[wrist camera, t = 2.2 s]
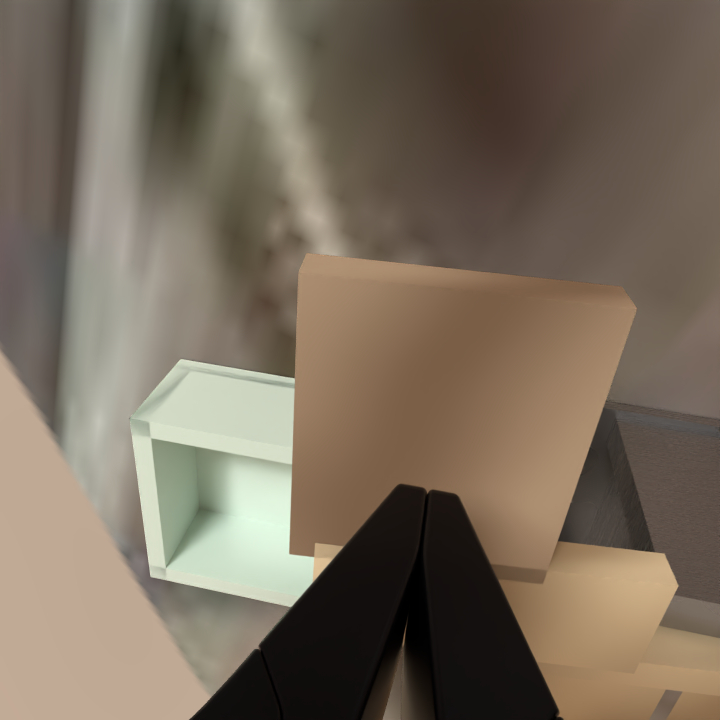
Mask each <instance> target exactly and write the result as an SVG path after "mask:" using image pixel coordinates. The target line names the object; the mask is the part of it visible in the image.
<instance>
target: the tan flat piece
mask: <svg viewBox="0 0 720 720" xmlns="http://www.w3.org/2000/svg"><path fill="white" fill-rule="evenodd" d="M636 311H637V308H636V307H635V305H634V304H633V302H632V301H631V299H630V298H629V296H628V295H627V293H626V292H625V291H624V289H623V288H622V287H620V286H611V285H601V284H592V283H583V282H573V281H564V280H554V279H545V278H536V277H526V276H517V275H507V274H498V273H489V272H479V271H470V270H460V269H451V268H442V267H432V266H423V265H413V264H404V263H394V262H385V261H376V260H366V259H357V258H347V257H338V256H329V255H319V254H310V253H306V256H305V258H304V261H303V263H302V265H301V268H300V270H299V273H298V302H297V332H296V362H295V392H294V421H293V451H292V481H291V511H290V541H289V554H291V555H299V556H308V557H314V568H313V581H314V580H315V579H316V578H317V577H318V576H319V574H320V573H321V572H322V571H323V570H324V569H325V567H326V566H327V565H328V564H329V563H330V562H331V561H332V559H333V558H334V557H335V556H336V555H337V554H338V552H339V551H340V550H341V549H342V548H343V547H344V545H345V544H346V543H347V542H348V541H349V540H350V539H351V537H352V536H353V535H354V534H355V533H356V532H357V530H358V529H359V528H360V527H361V526H362V525H363V524H364V522H365V521H366V520H367V519H368V518H369V517H370V515H371V514H372V513H373V512H374V511H375V510H376V508H377V507H378V506H379V505H380V504H381V503H382V502H383V500H384V499H385V498H386V497H387V496H388V495H389V493H390V492H391V491H392V490H393V489H394V488H395V487H396V486H397V485H398V484H401V483H403V484H408V485H414V486H419V487H423V488H425V489H426V490H427V494H428V492H429V491H430V490H432V489H435V490H440V491H446V492H451V493H455V494H457V495H458V496H459V497H460V499H461V501H462V503H463V505H464V508H465V510H466V512H467V514H468V516H469V518H470V520H471V523H472V525H473V527H474V529H475V531H476V533H477V535H478V538H479V540H480V542H481V544H482V546H483V548H484V550H485V553H486V555H487V557H488V559H489V561H490V563H491V565H492V567H493V570H494V572H495V574H496V576H497V578H498V580H499V582H500V585H501V587H502V589H503V591H504V593H505V595H506V597H507V600H508V602H509V604H510V606H511V608H512V610H513V612H514V615H515V617H516V619H517V621H518V623H519V625H520V627H521V630H522V632H523V634H524V636H525V638H526V640H527V642H528V644H529V647H530V649H531V651H532V653H533V655H534V657H535V659H536V662H537V664H538V666H539V668H540V670H541V672H542V674H543V677H544V679H545V681H546V683H547V685H548V687H549V689H550V692H551V694H552V696H553V698H554V700H555V702H556V704H557V706H558V709H559V711H560V714H559V716H558V717H562V718H563V719H564V720H720V638H717V637H712V636H707V635H702V634H698V633H693V632H688V631H683V630H678V629H673V628H668V627H663V626H659V624H660V622H661V620H662V618H663V616H664V614H665V612H666V610H667V608H668V606H669V604H670V602H671V600H672V598H673V596H674V594H675V592H676V590H677V588H678V583H677V581H676V579H675V577H674V574H673V572H672V570H671V567H670V565H669V563H668V561H667V558H666V556H665V554H663V553H655V552H646V551H638V550H629V549H621V548H612V547H603V546H595V545H586V544H578V543H569V542H561V541H558V538H559V535H560V533H561V530H562V527H563V524H564V521H565V518H566V515H567V512H568V509H569V506H570V503H571V500H572V498H573V495H574V492H575V489H576V486H577V483H578V480H579V477H580V474H581V471H582V468H583V465H584V463H585V460H586V457H587V454H588V451H589V448H590V445H591V442H592V439H593V436H594V433H595V430H596V427H597V425H598V422H599V419H600V416H601V413H602V410H603V407H604V404H605V401H606V398H607V395H608V392H609V390H610V387H611V384H612V381H613V378H614V375H615V372H616V369H617V366H618V363H619V360H620V357H621V354H622V352H623V349H624V346H625V343H626V340H627V337H628V334H629V331H630V328H631V325H632V322H633V319H634V317H635V314H636ZM405 630H406V628H405ZM404 638H405V634H404ZM402 646H404V639H403V645H402Z"/></svg>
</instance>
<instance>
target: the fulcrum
mask: <svg viewBox="0 0 720 720" xmlns="http://www.w3.org/2000/svg"><path fill="white" fill-rule="evenodd" d="M558 541H561V542H569V543H578V544H586V545H595V546H603V547H612V548H621V549H629V550H638V551H646V552H655V553H663V554H665V556H666V558H667V561H668V563H669V565H670V567H671V570H672V572H673V574H674V577H675V579H676V581H677V583H678V588H677V590H676V592H675V594H674V596H673V598H672V600H671V602H670V604H669V606H668V608H667V610H666V612H665V614H664V616H663V618H662V620H661V622H660V624H659V626H663V627H668V628H673V629H678V630H683V631H688V632H693V633H698V634H702V635H707V636H712V637H717V638H720V420H716V419H710V418H704V417H698V416H692V415H686V414H680V413H674V412H668V411H662V410H656V409H650V408H644V407H638V406H632V405H626V404H620V403H614V402H608V401H605V404H604V407H603V410H602V413H601V416H600V419H599V422H598V425H597V427H596V430H595V433H594V436H593V439H592V442H591V445H590V448H589V451H588V454H587V457H586V460H585V463H584V465H583V468H582V471H581V474H580V477H579V480H578V483H577V486H576V489H575V492H574V495H573V498H572V500H571V503H570V506H569V509H568V512H567V515H566V518H565V521H564V524H563V527H562V530H561V533H560V535H559V538H558Z"/></svg>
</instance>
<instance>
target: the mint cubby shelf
mask: <svg viewBox="0 0 720 720" xmlns="http://www.w3.org/2000/svg"><path fill="white" fill-rule="evenodd" d="M294 392H295V378H289V377H283V376H277V375H271V374H265V373H260V372H254V371H248V370H242V369H236V368H230V367H224V366H219V365H213V364H207V363H201V362H195V361H189V360H184V359H180V361H179V362H178V363H177V364H176V365H175V366H174V367H173V369H172V370H171V371H170V372H169V373H168V374H167V376H166V377H165V378H164V379H163V380H162V381H161V382H160V384H159V385H158V386H157V387H156V388H155V389H154V391H153V392H152V393H151V394H150V395H149V396H148V398H147V399H146V400H145V401H144V402H143V403H142V404H141V406H140V407H139V408H138V409H137V410H136V411H135V413H134V414H133V415H132V416H131V417H130V424H131V432H132V440H133V447H134V455H135V462H136V470H137V477H138V485H139V493H140V500H141V508H142V515H143V523H144V530H145V538H146V545H147V553H148V561H149V568H150V576H151V577H154V578H159V579H164V580H168V581H173V582H178V583H182V584H187V585H192V586H196V587H201V588H206V589H210V590H215V591H219V592H224V593H229V594H233V595H238V596H243V597H247V598H252V599H257V600H261V601H266V602H271V603H275V604H280V605H285V606H289V607H292V606H293V604H294V603H295V602H296V601H297V600H298V599H299V598H300V596H301V595H302V594H303V593H304V592H305V591H306V589H307V588H308V587H309V586H310V585H311V584H312V582H313V568H314V557H308V556H299V555H291V554H289V541H290V511H291V481H292V451H293V421H294Z"/></svg>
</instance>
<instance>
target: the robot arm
mask: <svg viewBox="0 0 720 720" xmlns="http://www.w3.org/2000/svg"><path fill="white" fill-rule="evenodd" d="M405 628H406V630H405ZM404 634H405V638H404ZM403 639H404V647H403V662H402V693H401V720H564V719H563V718H562V717H558V716H559V714H560V711H559V709H558V706H557V704H556V702H555V700H554V698H553V696H552V694H551V692H550V689H549V687H548V685H547V683H546V681H545V679H544V677H543V674H542V672H541V670H540V668H539V666H538V664H537V662H536V659H535V657H534V655H533V653H532V651H531V649H530V647H529V644H528V642H527V640H526V638H525V636H524V634H523V632H522V630H521V627H520V625H519V623H518V621H517V619H516V617H515V615H514V612H513V610H512V608H511V606H510V604H509V602H508V600H507V597H506V595H505V593H504V591H503V589H502V587H501V585H500V582H499V580H498V578H497V576H496V574H495V572H494V570H493V567H492V565H491V563H490V561H489V559H488V557H487V555H486V553H485V550H484V548H483V546H482V544H481V542H480V540H479V538H478V535H477V533H476V531H475V529H474V527H473V525H472V523H471V520H470V518H469V516H468V514H467V512H466V510H465V508H464V505H463V503H462V501H461V499H460V497H459V496H458V495H457V494H455V493H451V492H446V491H440V490H435V489H432V490H430V491H429V492H428V494H427V490H426V489H425V488H423V487H419V486H414V485H408V484H403V483H401V484H398V485H397V486H396V487H395V488H394V489H393V490H392V491H391V492H390V493H389V495H388V496H387V497H386V498H385V499H384V500H383V502H382V503H381V504H380V505H379V506H378V507H377V508H376V510H375V511H374V512H373V513H372V514H371V515H370V517H369V518H368V519H367V520H366V521H365V522H364V524H363V525H362V526H361V527H360V528H359V529H358V530H357V532H356V533H355V534H354V535H353V536H352V537H351V539H350V540H349V541H348V542H347V543H346V544H345V545H344V547H343V548H342V549H341V550H340V551H339V552H338V554H337V555H336V556H335V557H334V558H333V559H332V561H331V562H330V563H329V564H328V565H327V566H326V567H325V569H324V570H323V571H322V572H321V573H320V574H319V576H318V577H317V578H316V579H315V580H314V581H313V582H312V584H311V585H310V586H309V587H308V588H307V589H306V591H305V592H304V593H303V594H302V595H301V596H300V598H299V599H298V600H297V601H296V602H295V603H294V604H293V606H292V607H291V608H290V609H289V610H288V611H287V613H286V614H285V615H284V616H283V617H282V618H281V619H280V621H279V622H278V623H277V624H276V625H275V626H274V628H273V629H272V630H271V631H270V632H269V633H268V635H267V636H266V637H265V638H264V639H263V640H262V641H261V643H260V644H259V649H254V650H253V651H252V653H251V654H250V655H249V656H248V657H247V658H246V660H245V661H244V662H243V663H242V664H241V665H240V666H239V668H238V669H237V670H236V671H235V672H234V673H233V674H232V676H231V677H230V678H229V679H228V680H227V681H226V682H225V683H224V684H223V685H222V686H221V687H220V689H219V690H218V691H217V692H216V693H215V694H214V695H213V696H212V697H211V698H210V699H209V700H208V702H207V703H206V704H205V705H204V706H203V707H202V708H201V709H200V710H199V711H198V712H197V713H196V714H195V715H194V716H193V717H192V718H190V719H189V720H382V719H383V716H384V712H385V709H386V705H387V702H388V698H389V694H390V691H391V687H392V684H393V680H394V677H395V673H396V669H397V666H398V662H399V658H400V654H401V650H402V645H403Z"/></svg>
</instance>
